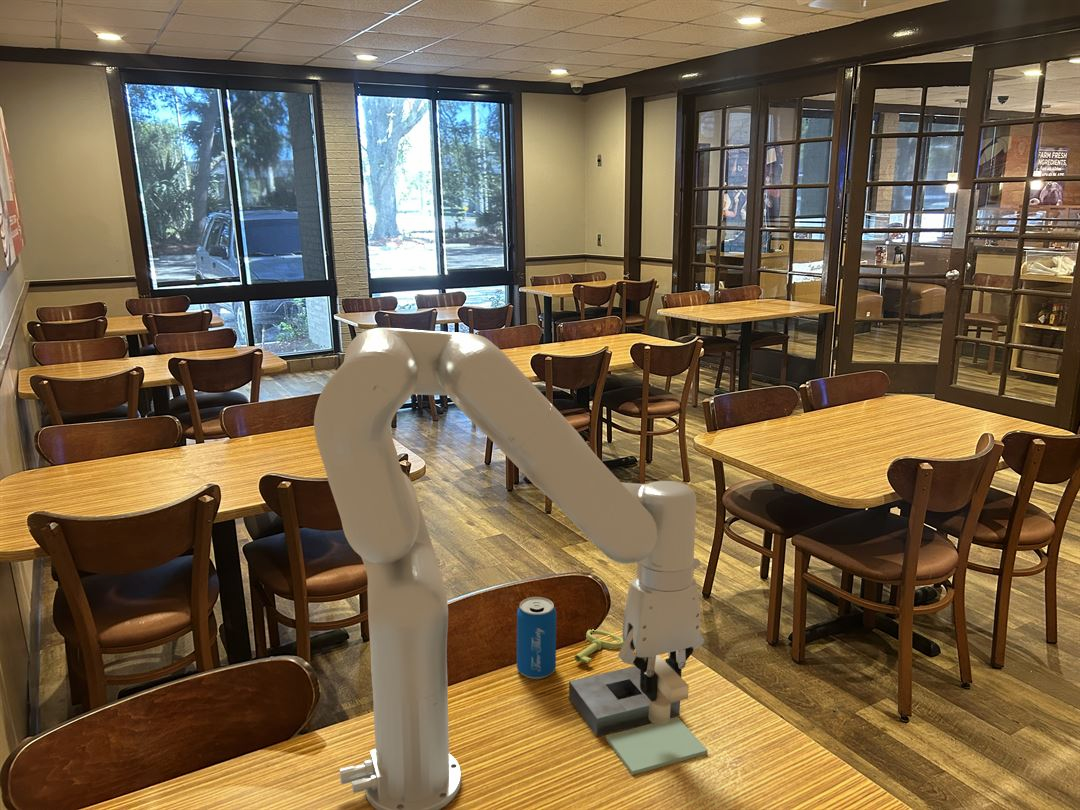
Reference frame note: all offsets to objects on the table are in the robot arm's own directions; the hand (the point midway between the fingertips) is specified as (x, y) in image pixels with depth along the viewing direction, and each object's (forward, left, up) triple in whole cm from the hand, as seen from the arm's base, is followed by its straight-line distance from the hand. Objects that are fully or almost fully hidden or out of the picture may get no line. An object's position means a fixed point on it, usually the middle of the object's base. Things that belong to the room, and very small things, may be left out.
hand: (660, 691), depth 108 cm
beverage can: (-9, +24, -9) cm, 27 cm away
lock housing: (0, +10, -9) cm, 13 cm away
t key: (0, 0, -4) cm, 4 cm away
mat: (0, 0, -9) cm, 9 cm away
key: (+3, +27, -10) cm, 29 cm away
